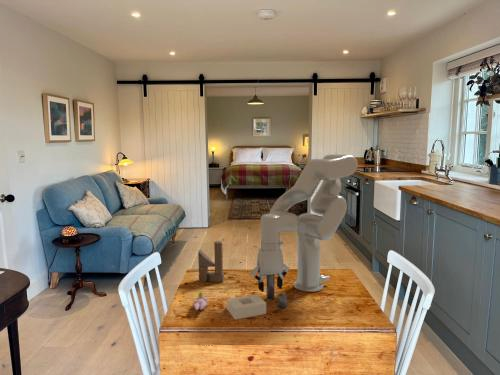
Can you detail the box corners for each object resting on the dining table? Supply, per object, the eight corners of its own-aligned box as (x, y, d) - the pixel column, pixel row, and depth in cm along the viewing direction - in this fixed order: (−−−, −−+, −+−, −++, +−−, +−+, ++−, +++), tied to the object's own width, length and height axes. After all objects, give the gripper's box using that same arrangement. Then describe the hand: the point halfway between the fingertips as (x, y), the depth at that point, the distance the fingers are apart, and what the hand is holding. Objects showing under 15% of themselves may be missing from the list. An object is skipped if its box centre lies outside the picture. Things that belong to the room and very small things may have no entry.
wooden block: (200, 279, 171) (199, 240, 169) (224, 279, 171) (223, 240, 168) (198, 282, 168) (197, 242, 166) (222, 282, 167) (222, 243, 165)
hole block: (256, 303, 145) (256, 293, 144) (266, 313, 136) (266, 303, 136) (227, 309, 141) (226, 298, 140) (234, 319, 132) (234, 308, 132)
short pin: (284, 304, 144) (284, 293, 143) (288, 308, 141) (288, 296, 140) (276, 305, 143) (276, 294, 142) (280, 309, 140) (280, 297, 139)
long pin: (272, 296, 152) (272, 269, 151) (275, 299, 149) (275, 272, 148) (265, 297, 151) (265, 270, 150) (268, 300, 148) (268, 273, 147)
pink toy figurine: (194, 303, 149) (190, 315, 134) (193, 288, 149) (190, 298, 134) (210, 303, 149) (207, 314, 134) (209, 288, 149) (207, 297, 134)
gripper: (286, 241, 154) (286, 283, 156) (246, 245, 148) (246, 289, 150) (294, 245, 147) (294, 289, 149) (253, 250, 141) (253, 296, 143)
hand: (270, 289), depth 150 cm, fingers open, 7 cm apart
